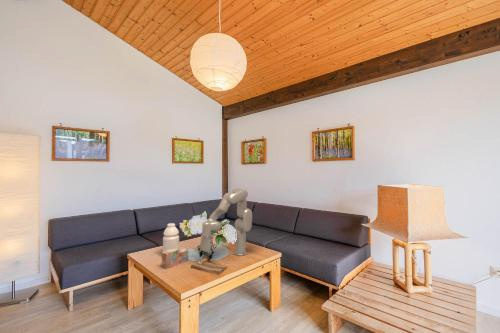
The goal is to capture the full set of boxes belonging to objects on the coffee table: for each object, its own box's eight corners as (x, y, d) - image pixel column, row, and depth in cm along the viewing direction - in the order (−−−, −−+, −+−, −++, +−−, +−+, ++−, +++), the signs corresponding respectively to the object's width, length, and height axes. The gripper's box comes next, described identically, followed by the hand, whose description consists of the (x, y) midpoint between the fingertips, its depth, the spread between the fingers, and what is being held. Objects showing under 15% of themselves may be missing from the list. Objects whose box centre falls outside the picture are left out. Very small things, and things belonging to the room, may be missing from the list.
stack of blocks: (183, 258, 202) (183, 244, 202) (188, 260, 199) (188, 246, 199) (161, 267, 185) (161, 251, 185) (166, 269, 181) (166, 253, 181)
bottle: (159, 257, 205) (159, 225, 205) (168, 251, 218) (169, 221, 218) (173, 259, 201) (173, 226, 201) (182, 253, 215) (182, 222, 214)
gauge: (205, 261, 197) (205, 254, 197) (210, 262, 195) (210, 255, 195) (196, 267, 186) (196, 259, 186) (201, 268, 184) (201, 260, 184)
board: (199, 262, 194) (199, 260, 194) (226, 268, 184) (226, 266, 184) (190, 267, 184) (190, 265, 184) (219, 274, 174) (219, 271, 174)
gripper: (217, 237, 194) (217, 258, 194) (200, 234, 201) (199, 254, 201) (212, 239, 187) (212, 261, 187) (195, 236, 194) (194, 257, 194)
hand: (205, 257), depth 194 cm, fingers open, 9 cm apart
